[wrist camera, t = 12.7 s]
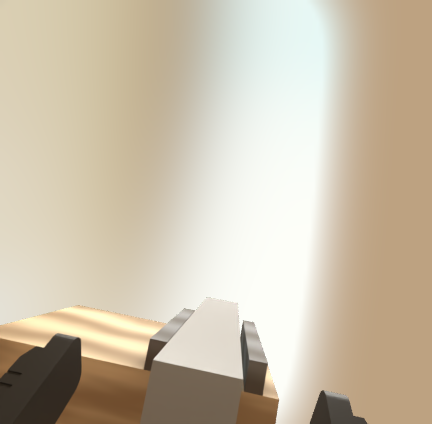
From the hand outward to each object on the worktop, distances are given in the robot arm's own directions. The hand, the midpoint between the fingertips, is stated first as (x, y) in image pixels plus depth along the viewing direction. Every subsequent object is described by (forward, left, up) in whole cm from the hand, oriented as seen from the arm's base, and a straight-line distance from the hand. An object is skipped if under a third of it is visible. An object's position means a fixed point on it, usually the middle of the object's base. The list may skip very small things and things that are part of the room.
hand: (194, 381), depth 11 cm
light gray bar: (+12, +9, -4) cm, 15 cm away
